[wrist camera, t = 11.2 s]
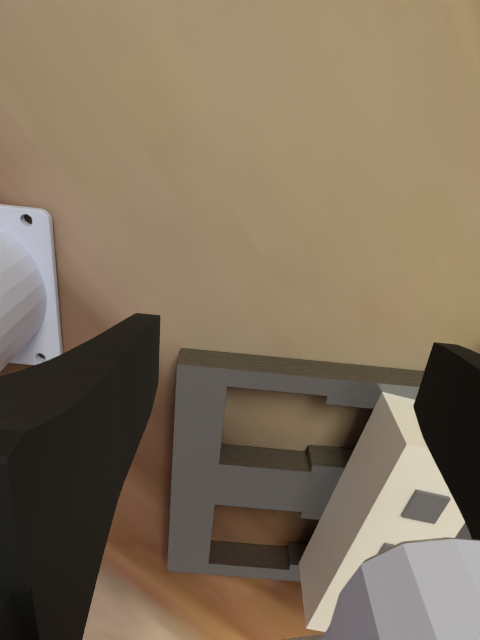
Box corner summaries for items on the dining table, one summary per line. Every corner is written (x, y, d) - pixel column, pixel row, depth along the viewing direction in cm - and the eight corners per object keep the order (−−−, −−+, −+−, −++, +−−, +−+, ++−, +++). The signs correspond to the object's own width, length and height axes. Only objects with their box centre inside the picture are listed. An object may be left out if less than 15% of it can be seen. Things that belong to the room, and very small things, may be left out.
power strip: (296, 545, 29) (306, 631, 24) (375, 378, 23) (408, 446, 18) (361, 559, 29) (383, 645, 24) (454, 397, 24) (505, 468, 19)
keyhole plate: (171, 548, 29) (167, 571, 28) (181, 348, 23) (176, 364, 22) (441, 570, 30) (451, 594, 28) (524, 380, 24) (542, 398, 22)
